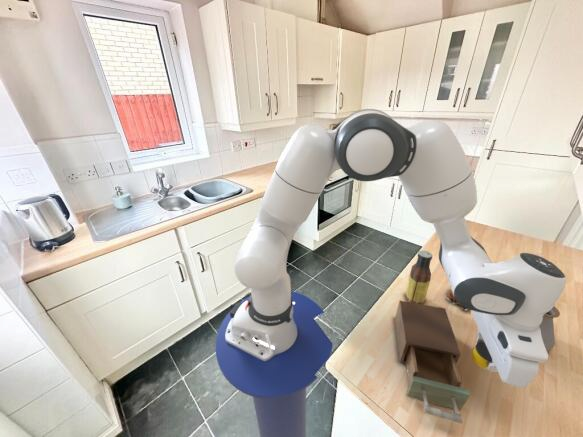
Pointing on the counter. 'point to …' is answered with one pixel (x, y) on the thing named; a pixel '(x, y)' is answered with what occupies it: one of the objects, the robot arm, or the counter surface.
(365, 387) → the counter surface
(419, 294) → the sauce bottle
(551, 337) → the coffee pot
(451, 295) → the pastry
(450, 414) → the drawer
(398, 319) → the cabinet
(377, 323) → the counter surface
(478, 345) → the jar
